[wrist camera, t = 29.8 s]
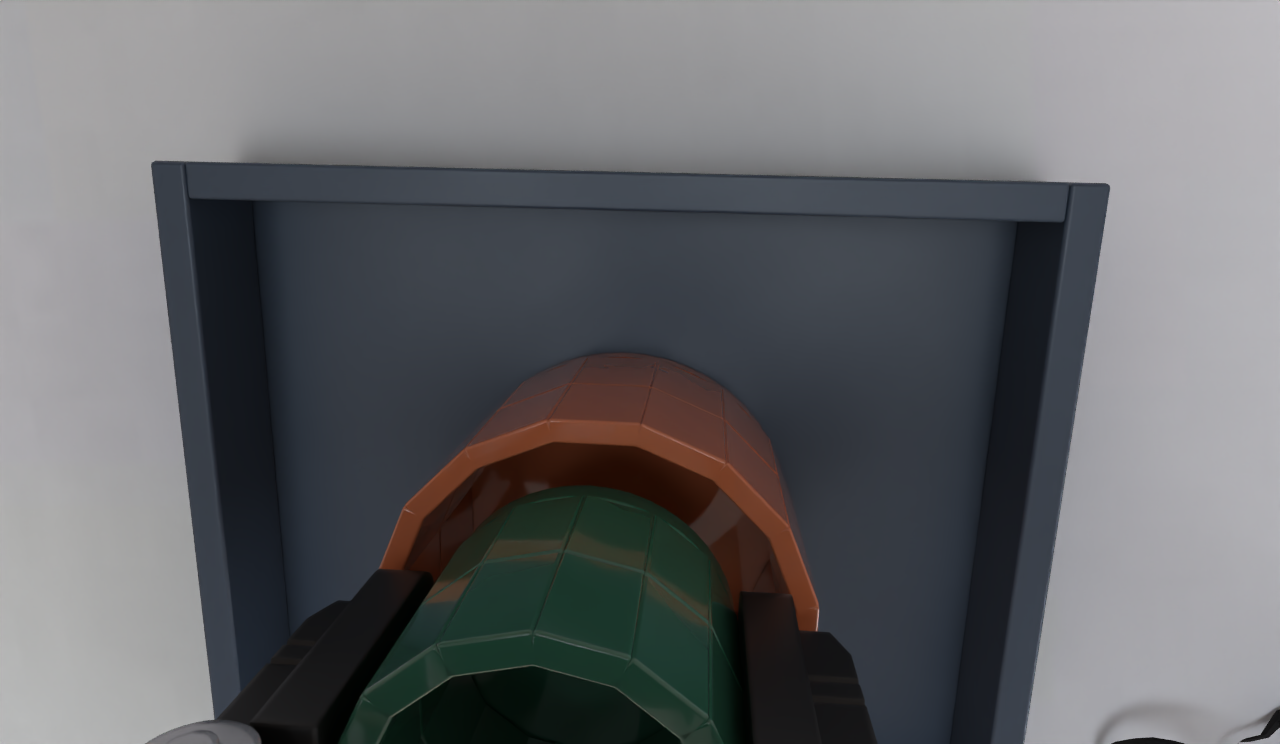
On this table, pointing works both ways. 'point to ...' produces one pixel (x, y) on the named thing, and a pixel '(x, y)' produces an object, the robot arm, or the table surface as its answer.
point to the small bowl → (566, 634)
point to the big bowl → (622, 469)
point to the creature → (1275, 722)
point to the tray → (658, 326)
